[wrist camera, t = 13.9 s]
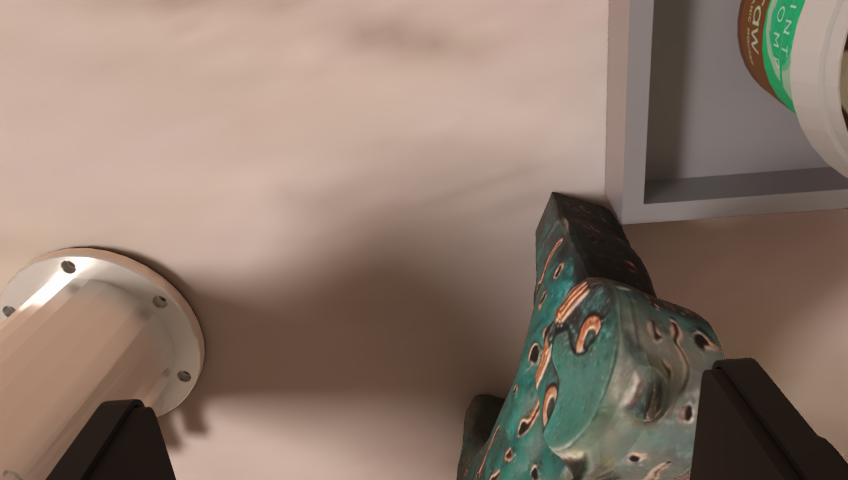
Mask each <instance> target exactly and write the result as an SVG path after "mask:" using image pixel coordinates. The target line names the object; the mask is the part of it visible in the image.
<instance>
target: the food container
mask: <svg viewBox="0 0 848 480" xmlns="http://www.w3.org/2000/svg"><path fill="white" fill-rule="evenodd" d="M737 38H738V44H739V50H740V53H741V56H742V59H743V61H744V64H745V66H746V68H747V69H748V71H749V73H750V74H751V76H752V77H753V79H754V80H755V81H756V82H757V83H758V84H759V85H760V86H761V87H762V88H763V89H764V90H765V91H767V92H768V93H769V94H770V95H772V96H773V97H774V98H776V99H777V100H778V101H779V102H781V103H782V104H783V105H784V106H786V107H787V108H788V109H789V110H791V111H792V112H793V113H794V114H796V115H797V117H798V120H799V123H800V126H801V128H802V130H803V132H804V134H805V135H806V137H807V139H808V141H809V142H810V144H811V146H812V147H813V148H814V149H815V151H816V152H817V153H818V154H819V155H820V156H821V157H822V158H823V160H824V161H825V162H826V163H827V164H829V165H830V166H831V167H832V168H834V169H835V170H836V171H838V172H839V173H840V174H842V175H843V176H845V177H847V178H848V0H741V3H740V8H739V14H738V20H737Z"/></svg>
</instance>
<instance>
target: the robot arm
mask: <svg viewBox="0 0 848 480" xmlns="http://www.w3.org/2000/svg"><path fill="white" fill-rule="evenodd" d="M204 356H205V349H204V338H203V335H202V331H201V328H200V325H199V322H198V320H197V318H196V316H195V314H194V313H193V311H192V309H191V307H190V306H189V304H188V303H187V302H186V300H185V299H184V298H183V297H182V295H181V294H180V293H179V291H177V290H176V289H175V288H174V287H173V286H172V285H171V284H170V283H169V282H168V281H167V280H166V279H164V278H163V277H162V276H160V275H159V274H157V273H156V272H154V271H153V270H151V269H150V268H149V267H147V266H145V265H143V264H141V263H139V262H137V261H135V260H133V259H131V258H129V257H126V256H123V255H119V254H116V253H113V252H110V251H105V250H98V249H91V248H67V249H63V250H58V251H54V252H50V253H47V254H45V255H43V256H41V257H39V258H36V259H34V260H33V261H32V262H30V263H29V264H28V265H26V266H25V267H24V268H22V269H21V270H19V271H18V272H17V273H16V274H15V275H14V276H13V278H12V279H11V280H10V281H9V282H8V283H7V285H6V287H5V289H4V290H3V292H2V294H1V297H0V480H176V478H175V475H174V471H173V468H172V465H171V462H170V459H169V456H168V452H167V449H166V446H165V443H164V440H163V437H162V433H161V430H160V427H159V424H158V421H157V418H156V417H158V416H160V415H163V414H166V413H167V412H169V411H170V410H172V409H174V408H175V407H177V406H178V405H179V404H180V403H181V402H182V401H183V400H184V399H185V398H186V397H187V396H188V395H189V393H190V392H191V390H192V389H193V387H194V385H195V384H196V382H197V380H198V378H199V376H200V373H201V371H202V369H203V363H204ZM690 480H848V464H847V462H846V461H845V460H844V459H843V457H842V456H841V455H840V454H839V453H838V451H837V450H836V449H835V448H834V447H833V446H832V445H831V444H830V443H829V442H828V441H827V440H826V439H824V438H822V437H820V436H817V434H816V433H815V432H814V431H813V429H812V428H811V427H810V426H809V425H808V423H807V422H806V421H805V420H804V418H803V417H802V416H801V415H800V414H799V412H798V411H797V410H796V409H795V407H794V406H793V405H792V404H791V403H790V401H789V400H788V399H787V398H786V396H785V395H784V394H783V393H782V392H781V390H780V389H779V388H778V387H777V385H776V384H775V383H774V382H773V381H772V379H771V378H770V377H769V376H768V374H767V373H766V372H765V371H764V370H763V368H762V367H761V366H760V365H759V363H758V362H757V361H755V360H754V359H752V358H741V359H726V360H717V361H715V362H714V364H713V365H712V369H708V370H704V372H703V374H702V379H701V387H700V396H699V405H698V413H697V422H696V430H695V439H694V448H693V456H692V465H691V473H690Z"/></svg>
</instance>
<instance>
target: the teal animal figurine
mask: <svg viewBox="0 0 848 480" xmlns="http://www.w3.org/2000/svg"><path fill="white" fill-rule="evenodd" d="M536 271H537V278H536V287H535V292H534V310H533V314H532V318H531V321H530V325H529V328H528V332H527V336H526V339H525V343H524V347H523V351H522V355H521V359H520V363H519V367H518V370H517V373H516V377H515V379H514V382H513V384H512V386H511V388H510V391H509V393H508V395H507V397H506V400H504V399H500V398H497V397H495V396H491V395H480V396H476V397H475V398H474V399H473V401H472V402H471V404H470V406H469V407H468V410H467V412H466V416H465V421H464V434H463V446H462V451H461V456H460V460H459V464H458V471H457V480H673V479H675V478H677V477H679V476H682V475H683V474H685V473H687V472H688V471H690V470H691V465H692V456H693V448H694V439H695V430H696V422H697V413H698V405H699V396H700V387H701V379H702V374H703V372H704V370H708V369H712V365H713V364H714V362H715V361H717V360H725V358H724V355H723V352H722V349H721V347H720V344H719V341H718V339H717V336H716V335H715V333H714V331H713V329H712V327H711V326H710V324H709V323H708V322H707V321H706V320H705V319H703V318H702V317H701V316H699V315H698V314H696V313H695V312H693V311H691V310H689V309H686V308H683V307H681V306H678V305H675V304H672V303H670V302H667V301H664V300H661V299H658V298H657V296H656V294H655V292H654V289H653V286H652V282H651V279H650V277H649V275H648V272H647V270H646V268H645V266H644V264H643V262H642V261H641V259H640V258H639V256H638V255H637V254H636V253H635V252H634V250H633V249H632V248H631V247H630V244H629V241H628V239H627V237H626V235H625V233H624V231H623V229H622V227H621V225H620V224H619V223H618V221H617V220H616V219H615V217H614V215H613V214H612V212H611V211H610V210H608V209H605V208H603V207H600V206H597V205H594V204H591V203H588V202H584V201H581V200H577V199H574V198H570V197H567V196H563V195H560V194H557V193H554V192H552V194H551V197H550V199H549V201H548V204H547V206H546V209H545V211H544V213H543V215H542V218H541V220H540V223H539V225H538V228H537V230H536Z"/></svg>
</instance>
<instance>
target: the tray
mask: <svg viewBox="0 0 848 480" xmlns="http://www.w3.org/2000/svg"><path fill="white" fill-rule="evenodd" d="M740 3H741V0H609V29H608V74H607V119H606V164H605V196H606V197H607V199H608V201H609V203H610V205H611V206H612V208H613V210H614V212H615V213H616V215H617V217H618V219H619V220H620V222H621V224H622V225H623V224H637V223H651V222H665V221H678V220H692V219H706V218H720V217H734V216H748V215H761V214H775V213H789V212H803V211H817V210H831V209H845V208H848V178H847V177H845V176H843V175H842V174H840V173H839V172H838V171H836V170H835V169H834V168H832V167H831V166H830V165H829V164H827V163H826V162H825V161H824V160H823V158H822V157H821V156H820V155H819V154H818V153H817V152H816V151H815V149H814V148H813V147H812V146H811V144H810V142H809V141H808V139H807V137H806V135H805V134H804V132H803V130H802V128H801V126H800V123H799V120H798V117H797V115H796V114H794V113H793V112H792V111H791V110H789V109H788V108H787V107H786V106H784V105H783V104H782V103H781V102H779V101H778V100H777V99H776V98H774V97H773V96H772V95H770V94H769V93H768V92H767V91H765V90H764V89H763V88H762V87H761V86H760V85H759V84H758V83H757V82H756V81H755V80H754V79H753V77H752V76H751V74H750V73H749V71H748V69H747V68H746V66H745V64H744V61H743V59H742V56H741V53H740V50H739V44H738V38H737V20H738V14H739V8H740Z"/></svg>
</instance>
